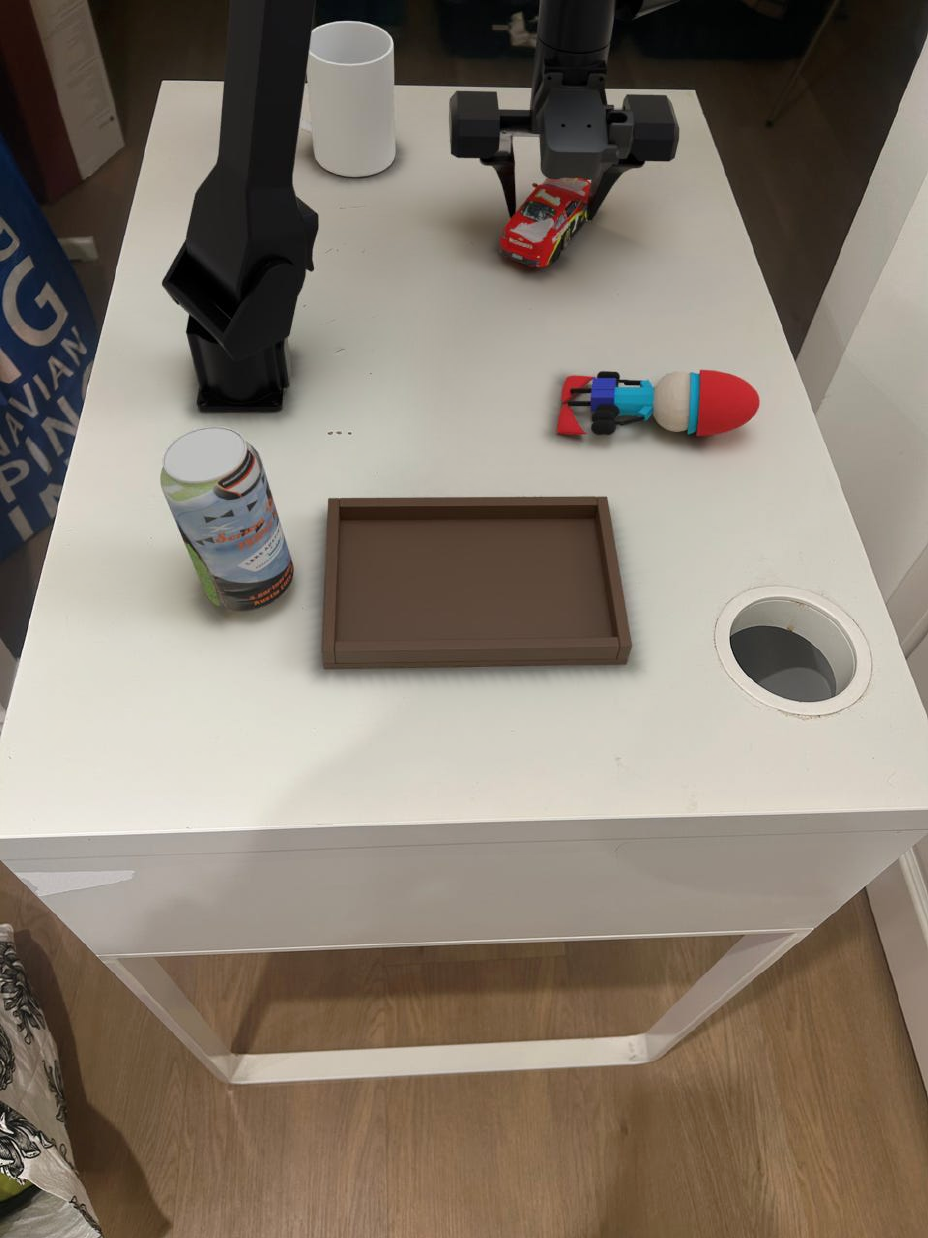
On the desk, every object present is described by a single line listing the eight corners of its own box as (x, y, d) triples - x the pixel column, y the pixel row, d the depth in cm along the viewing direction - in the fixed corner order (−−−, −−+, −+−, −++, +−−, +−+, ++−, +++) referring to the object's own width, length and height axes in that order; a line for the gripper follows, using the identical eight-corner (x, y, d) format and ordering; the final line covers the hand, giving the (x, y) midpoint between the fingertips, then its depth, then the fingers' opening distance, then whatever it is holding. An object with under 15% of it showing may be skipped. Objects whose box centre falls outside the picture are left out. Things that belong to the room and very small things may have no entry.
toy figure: (556, 456, 75) (757, 459, 73) (553, 405, 72) (765, 406, 69) (565, 396, 80) (754, 396, 77) (563, 345, 76) (761, 343, 74)
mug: (393, 132, 97) (391, 20, 89) (397, 177, 93) (395, 64, 84) (270, 133, 96) (256, 20, 88) (269, 179, 92) (253, 65, 83)
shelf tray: (323, 669, 62) (321, 651, 60) (330, 517, 69) (328, 497, 68) (626, 663, 63) (632, 646, 62) (602, 515, 70) (607, 495, 69)
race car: (553, 187, 93) (558, 147, 90) (604, 206, 92) (612, 165, 89) (487, 258, 86) (490, 217, 83) (541, 279, 85) (546, 238, 82)
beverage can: (257, 638, 63) (228, 519, 53) (171, 587, 65) (127, 463, 55) (316, 573, 66) (298, 449, 56) (231, 527, 68) (200, 399, 58)
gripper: (457, 87, 70) (450, 272, 83) (712, 92, 71) (666, 275, 84) (451, 12, 76) (446, 196, 89) (686, 18, 77) (647, 199, 90)
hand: (550, 217), depth 88 cm, fingers closed on race car, 7 cm apart
